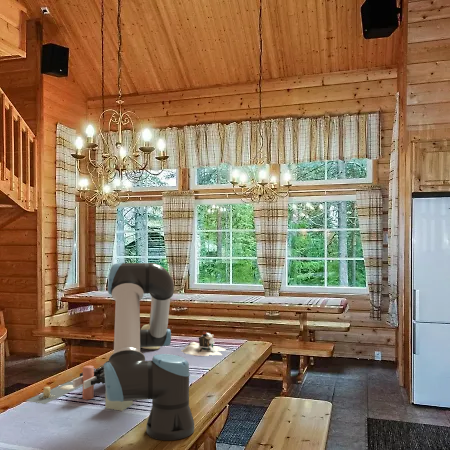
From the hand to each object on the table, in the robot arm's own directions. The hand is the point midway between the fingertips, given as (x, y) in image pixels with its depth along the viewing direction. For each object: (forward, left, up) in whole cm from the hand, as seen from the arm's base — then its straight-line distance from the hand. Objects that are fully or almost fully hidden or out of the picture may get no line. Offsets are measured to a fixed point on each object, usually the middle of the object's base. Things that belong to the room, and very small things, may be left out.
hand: (79, 384), depth 169 cm
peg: (+5, 0, -7) cm, 9 cm away
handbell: (+83, +20, -7) cm, 86 cm away
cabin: (+91, -13, -8) cm, 93 cm away
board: (+6, +15, -7) cm, 18 cm away
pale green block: (+4, -15, -7) cm, 17 cm away
